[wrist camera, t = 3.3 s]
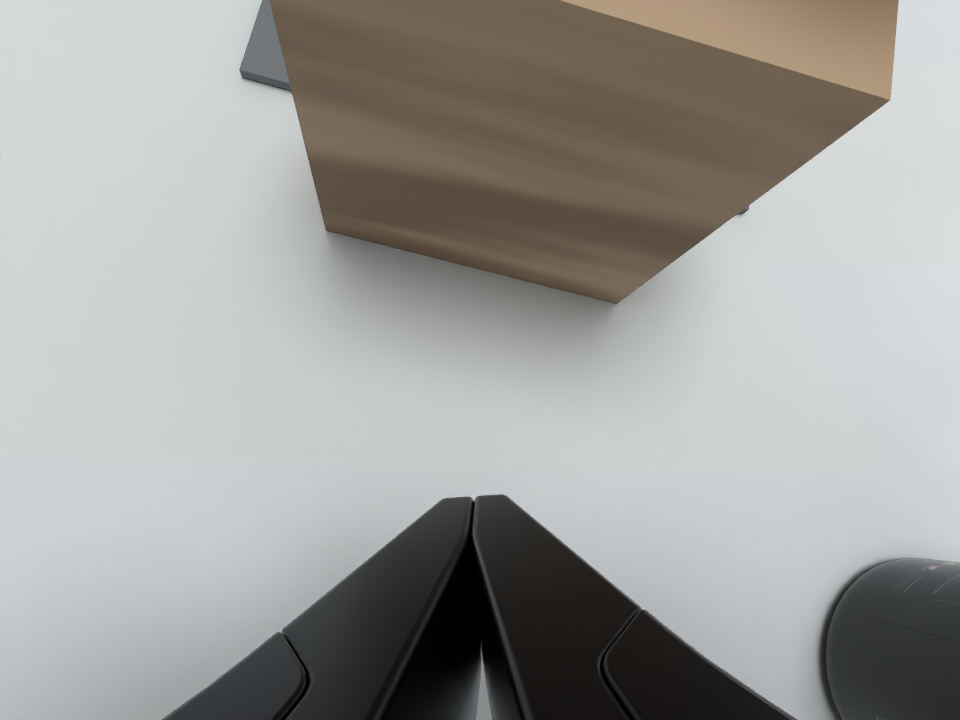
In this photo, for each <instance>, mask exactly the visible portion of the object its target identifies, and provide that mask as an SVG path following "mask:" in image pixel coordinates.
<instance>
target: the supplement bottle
mask: <svg viewBox="0 0 960 720" xmlns="http://www.w3.org/2000/svg"><path fill="white" fill-rule="evenodd" d="M826 668H827V676H828V682H829V687H830V691H831V694H832V697H833V700H834V703H835V706H836V708H837V710H838V713H839V715H840V717H841V719H842V720H960V563H958V562H950V561H940V560H932V559H923V558H904V559H897V560H893V561H889V562H885V563H883V564H880V565H878V566H876V567H874V568H872V569H870V570H869V571H867V572H866V573H864V574H863V575H861V576H860V577H859V578H858V579H857V580H856V581H855V582H854V583H853V584H852V585H851V586H850V587H849V588H848V589H847V591H846V592H845V593H844V595H843V596H842V598H841V600H840V601H839V603H838V605H837V607H836V609H835V611H834V614H833V617H832V619H831V622H830V626H829V630H828V636H827V643H826Z"/></svg>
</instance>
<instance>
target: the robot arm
mask: <svg viewBox="0 0 960 720" xmlns="http://www.w3.org/2000/svg"><path fill="white" fill-rule="evenodd" d="M482 655H483V664H484V672H485V679H486V685H487V691H488V697H489V703H490V709H491V715H492V720H797V719H795V718H794V717H792V716H791V715H789V714H788V713H786V712H785V711H783V710H782V709H780V708H779V707H777V706H776V705H774V704H773V703H771V702H770V701H768V700H767V699H765V698H764V697H762V696H761V695H759V694H758V693H756V692H755V691H753V690H752V689H750V688H749V687H748V686H746V685H745V684H743V683H742V682H740V681H739V680H737V679H736V678H735V677H733V676H732V675H730V674H729V673H727V672H726V671H724V670H723V669H722V668H720V667H719V666H717V665H716V664H714V663H713V662H711V661H710V660H709V659H707V658H706V657H704V656H703V655H702V654H701V653H699V652H698V651H697V650H695V649H694V648H693V647H692V646H690V645H689V644H688V643H686V642H685V641H684V640H683V639H681V638H680V637H679V636H677V635H676V634H675V633H673V632H672V631H671V630H670V629H668V628H667V627H666V626H665V625H663V624H662V623H661V622H660V621H659V620H657V619H656V618H655V617H654V616H653V615H651V614H650V613H649V612H648V611H646V610H642V609H641V607H640V606H639V605H637V604H636V603H635V602H634V601H633V600H631V599H630V598H629V597H628V596H627V595H625V594H624V593H623V592H622V591H621V590H619V589H618V588H617V587H616V586H615V585H613V584H612V583H611V582H610V581H608V580H607V579H606V578H605V577H604V576H602V575H601V574H600V573H599V572H598V571H596V570H595V569H594V568H593V567H592V566H590V565H589V564H588V563H587V562H586V561H584V560H583V559H582V558H581V557H580V556H578V555H577V554H576V553H575V552H574V551H572V550H571V549H570V548H569V547H568V546H566V545H565V544H564V543H563V542H562V541H560V540H559V539H558V538H557V537H555V536H554V535H553V534H552V533H551V532H549V531H548V530H547V529H546V528H545V527H543V526H542V525H541V524H540V523H539V522H537V521H536V520H535V519H534V518H533V517H531V516H530V515H529V514H528V513H527V512H525V511H524V510H523V509H522V508H521V507H519V506H518V505H517V504H516V503H515V502H513V501H512V500H511V499H510V498H509V497H507V496H505V495H502V494H500V495H485V496H478V497H476V498H475V501H473V499H472V498H471V497H455V498H445V499H442V500H441V501H439V502H438V503H437V504H436V505H434V506H433V507H432V508H431V509H430V510H428V511H427V512H426V513H425V514H423V515H422V516H421V517H420V518H419V519H417V520H416V521H415V522H414V523H412V524H411V525H410V526H409V527H407V528H406V529H405V530H404V531H403V532H401V533H400V534H399V535H398V536H396V537H395V538H394V539H393V540H392V541H390V542H389V543H388V544H387V545H385V546H384V547H383V548H382V549H380V550H379V551H378V552H377V553H376V554H374V555H373V556H372V557H371V558H369V559H368V560H367V561H366V562H365V563H363V564H362V565H361V566H360V567H358V568H357V569H356V570H355V571H353V572H352V573H351V574H350V575H349V576H347V577H346V578H345V579H344V580H342V581H341V582H340V583H339V584H338V585H336V586H335V587H334V588H333V589H331V590H330V591H329V592H328V593H326V594H325V595H324V596H323V597H322V598H320V599H319V600H318V601H317V602H315V603H314V604H313V605H312V606H311V607H309V608H308V609H307V610H306V611H304V612H303V613H302V614H301V615H299V616H298V617H297V618H296V619H295V620H293V621H292V622H291V623H290V624H288V625H287V626H286V627H285V628H284V629H283V630H282V633H280V632H278V633H275V634H274V635H273V636H272V637H270V638H269V639H268V640H267V641H266V642H264V643H263V644H262V645H261V646H259V647H258V648H257V649H256V650H254V651H253V652H252V653H251V654H249V655H248V656H247V657H246V658H244V659H243V660H242V661H240V662H239V663H238V664H237V665H235V666H234V667H233V668H231V669H230V670H229V671H227V672H226V673H225V674H224V675H222V676H221V677H220V678H218V679H217V680H216V681H215V682H213V683H212V684H211V685H209V686H208V687H207V688H205V689H204V690H203V691H201V692H200V693H198V694H197V695H196V696H194V697H193V698H191V699H190V700H189V701H187V702H186V703H184V704H183V705H182V706H180V707H179V708H177V709H176V710H175V711H173V712H172V713H170V714H169V715H168V716H166V717H165V718H164V719H162V720H475V719H476V710H477V701H478V693H479V684H480V674H481V661H482Z"/></svg>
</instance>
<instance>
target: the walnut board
mask: <svg viewBox="0 0 960 720" xmlns="http://www.w3.org/2000/svg"><path fill="white" fill-rule="evenodd" d="M269 1H270V5H271V9H272V14H273V18H274V22H275V26H276V30H277V34H278V38H279V42H280V46H281V50H282V54H283V58H284V62H285V66H286V70H287V74H288V78H289V82H290V86H291V91H292V95H293V99H294V103H295V107H296V111H297V115H298V119H299V123H300V127H301V131H302V135H303V139H304V143H305V147H306V151H307V155H308V159H309V163H310V168H311V172H312V176H313V180H314V184H315V188H316V192H317V196H318V200H319V204H320V208H321V212H322V216H323V220H324V224H325V228H326V231H330V232H334V233H338V234H342V235H346V236H350V237H354V238H358V239H362V240H366V241H370V242H374V243H378V244H382V245H386V246H390V247H394V248H397V249H401V250H405V251H409V252H413V253H417V254H421V255H425V256H429V257H433V258H437V259H441V260H445V261H449V262H453V263H457V264H461V265H465V266H469V267H473V268H477V269H481V270H485V271H489V272H493V273H497V274H500V275H504V276H508V277H512V278H516V279H520V280H524V281H528V282H532V283H536V284H540V285H544V286H548V287H552V288H556V289H560V290H564V291H568V292H572V293H576V294H580V295H584V296H588V297H592V298H596V299H599V300H603V301H607V302H611V303H615V304H617V303H618V302H620V301H621V300H622V299H624V298H625V297H626V296H628V295H629V294H630V293H632V292H633V291H634V290H636V289H637V288H638V287H640V286H641V285H643V284H644V283H645V282H647V281H648V280H649V279H651V278H652V277H653V276H655V275H656V274H657V273H659V272H660V271H661V270H663V269H664V268H665V267H667V266H668V265H669V264H671V263H672V262H673V261H675V260H676V259H677V258H679V257H680V256H681V255H683V254H684V253H685V252H687V251H688V250H690V249H691V248H692V247H694V246H695V245H696V244H698V243H699V242H700V241H702V240H703V239H704V238H706V237H707V236H708V235H710V234H711V233H712V232H714V231H715V230H716V229H718V228H719V227H720V226H722V225H723V224H724V223H726V222H727V221H728V220H730V219H731V218H732V217H734V216H735V215H737V214H738V213H739V212H741V211H742V210H743V209H745V208H746V207H747V206H749V205H750V204H751V203H753V202H754V201H755V200H757V199H758V198H759V197H761V196H762V195H763V194H765V193H766V192H767V191H769V190H770V189H771V188H773V187H774V186H775V185H777V184H778V183H779V182H781V181H782V180H784V179H785V178H786V177H788V176H789V175H790V174H792V173H793V172H794V171H796V170H797V169H798V168H800V167H801V166H802V165H804V164H805V163H806V162H808V161H809V160H810V159H812V158H813V157H814V156H816V155H817V154H818V153H820V152H821V151H822V150H824V149H825V148H826V147H828V146H829V145H831V144H832V143H833V142H835V141H836V140H837V139H839V138H840V137H841V136H843V135H844V134H845V133H847V132H848V131H849V130H851V129H852V128H853V127H855V126H856V125H857V124H859V123H860V122H861V121H863V120H864V119H865V118H867V117H868V116H869V115H871V114H872V113H873V112H875V111H876V110H878V109H879V108H880V107H882V106H883V105H884V104H886V103H887V102H888V101H890V97H891V85H892V73H893V60H894V48H895V36H896V24H897V11H898V0H269Z"/></svg>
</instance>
